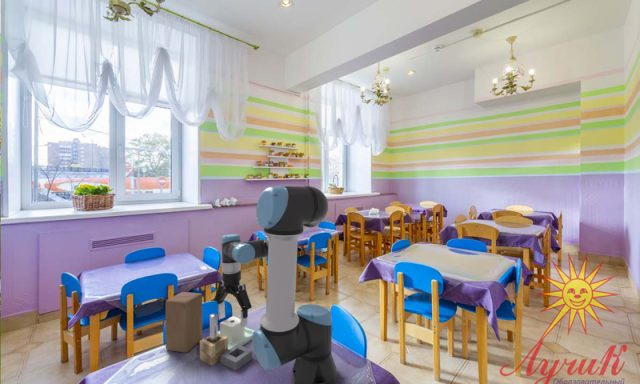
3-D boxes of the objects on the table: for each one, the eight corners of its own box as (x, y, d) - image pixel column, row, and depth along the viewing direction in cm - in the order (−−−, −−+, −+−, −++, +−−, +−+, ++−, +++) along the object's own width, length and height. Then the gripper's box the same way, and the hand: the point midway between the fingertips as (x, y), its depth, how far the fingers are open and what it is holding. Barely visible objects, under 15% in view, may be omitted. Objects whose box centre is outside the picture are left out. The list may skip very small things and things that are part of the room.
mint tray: (257, 335, 116) (257, 331, 116) (229, 353, 103) (229, 349, 103) (233, 326, 124) (233, 322, 124) (205, 342, 111) (205, 338, 111)
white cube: (244, 336, 115) (244, 319, 115) (231, 344, 109) (231, 327, 109) (233, 331, 118) (233, 315, 118) (220, 339, 112) (220, 322, 112)
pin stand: (252, 358, 100) (252, 350, 100) (235, 370, 94) (235, 362, 94) (237, 351, 105) (237, 344, 105) (220, 363, 98) (220, 355, 98)
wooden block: (187, 354, 103) (186, 302, 103) (164, 350, 105) (164, 300, 105) (203, 339, 113) (203, 292, 113) (182, 337, 115) (182, 290, 115)
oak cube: (227, 355, 102) (227, 337, 102) (212, 365, 96) (211, 346, 96) (215, 349, 106) (215, 332, 106) (199, 359, 100) (199, 340, 100)
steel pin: (219, 356, 102) (219, 314, 101) (213, 360, 99) (212, 317, 99) (214, 354, 103) (214, 312, 103) (208, 358, 101) (207, 315, 100)
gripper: (259, 273, 110) (260, 324, 110) (219, 265, 123) (220, 312, 123) (246, 278, 103) (247, 333, 103) (205, 269, 116) (205, 318, 116)
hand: (232, 321), depth 113 cm, fingers open, 13 cm apart
